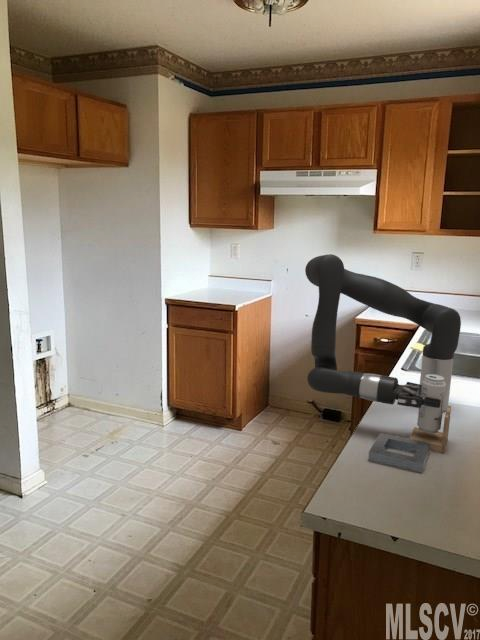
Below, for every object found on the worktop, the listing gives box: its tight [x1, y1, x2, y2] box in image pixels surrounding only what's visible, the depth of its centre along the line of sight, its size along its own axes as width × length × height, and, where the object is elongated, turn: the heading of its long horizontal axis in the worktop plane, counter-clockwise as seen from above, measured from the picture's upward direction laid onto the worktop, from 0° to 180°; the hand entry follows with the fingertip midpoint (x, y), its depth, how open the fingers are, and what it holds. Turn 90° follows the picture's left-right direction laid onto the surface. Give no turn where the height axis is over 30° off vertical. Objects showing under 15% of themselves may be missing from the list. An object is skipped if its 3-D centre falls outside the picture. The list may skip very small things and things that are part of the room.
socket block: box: [368, 432, 430, 474], centre depth 135 cm, size 13×13×2 cm
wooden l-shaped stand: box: [408, 405, 452, 454], centre depth 142 cm, size 9×9×10 cm
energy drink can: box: [416, 374, 446, 433], centre depth 140 cm, size 6×6×15 cm
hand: (441, 400), depth 139 cm, fingers closed on energy drink can, 6 cm apart
